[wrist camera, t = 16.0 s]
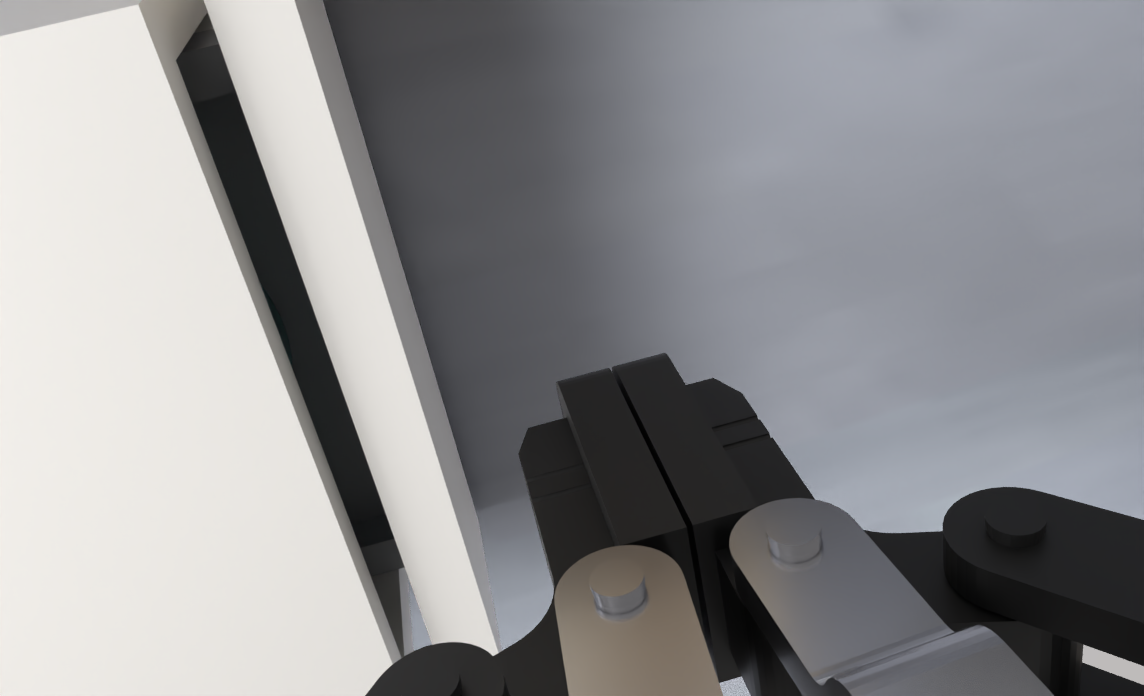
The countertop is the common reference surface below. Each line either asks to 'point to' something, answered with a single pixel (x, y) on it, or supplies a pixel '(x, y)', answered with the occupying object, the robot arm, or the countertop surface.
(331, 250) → the tray
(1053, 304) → the countertop surface
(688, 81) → the countertop surface
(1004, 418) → the countertop surface
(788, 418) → the countertop surface
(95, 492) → the box
